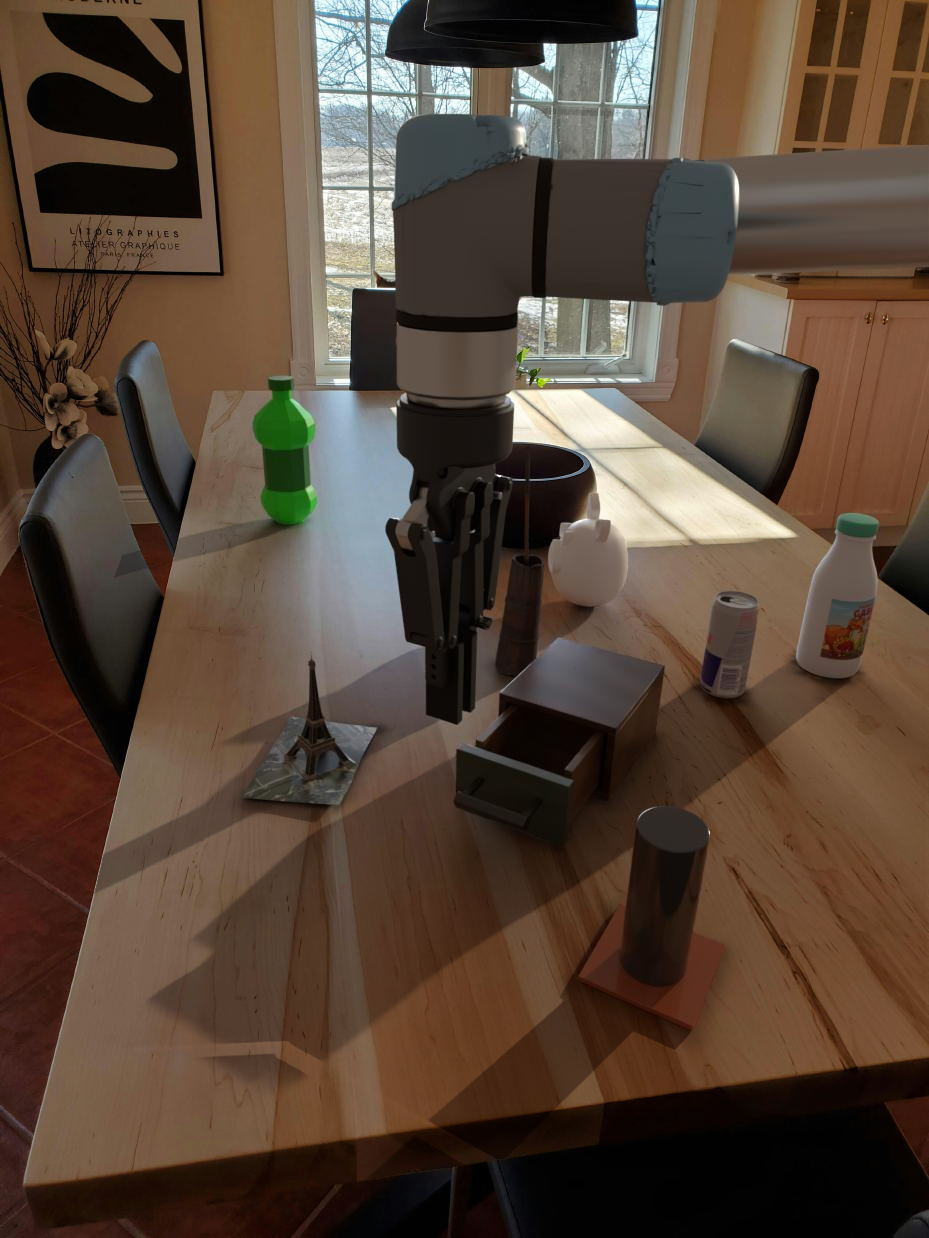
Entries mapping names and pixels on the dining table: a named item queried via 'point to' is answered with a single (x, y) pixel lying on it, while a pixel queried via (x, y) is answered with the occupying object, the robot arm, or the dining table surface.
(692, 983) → the coaster
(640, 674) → the cabinet
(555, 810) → the drawer
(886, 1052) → the dining table surface
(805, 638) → the milk bottle
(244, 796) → the eiffel tower figurine
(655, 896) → the dark grey cylinder
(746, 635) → the energy drink
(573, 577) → the piggy bank
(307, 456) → the plastic bottle
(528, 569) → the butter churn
